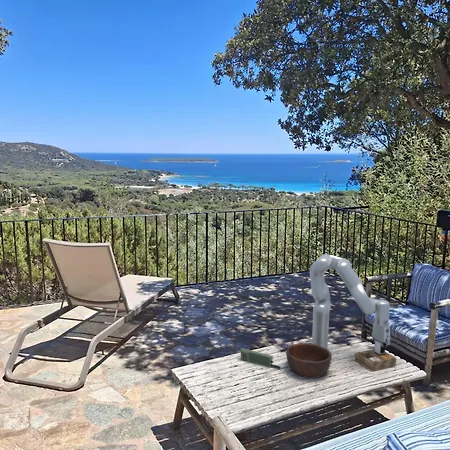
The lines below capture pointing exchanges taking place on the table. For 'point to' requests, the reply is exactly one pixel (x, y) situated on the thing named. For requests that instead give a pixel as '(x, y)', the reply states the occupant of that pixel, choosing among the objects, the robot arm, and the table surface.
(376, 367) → the socket block
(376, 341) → the plug
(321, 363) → the wooden bowl
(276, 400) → the table surface
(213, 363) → the table surface
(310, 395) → the table surface
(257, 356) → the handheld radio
